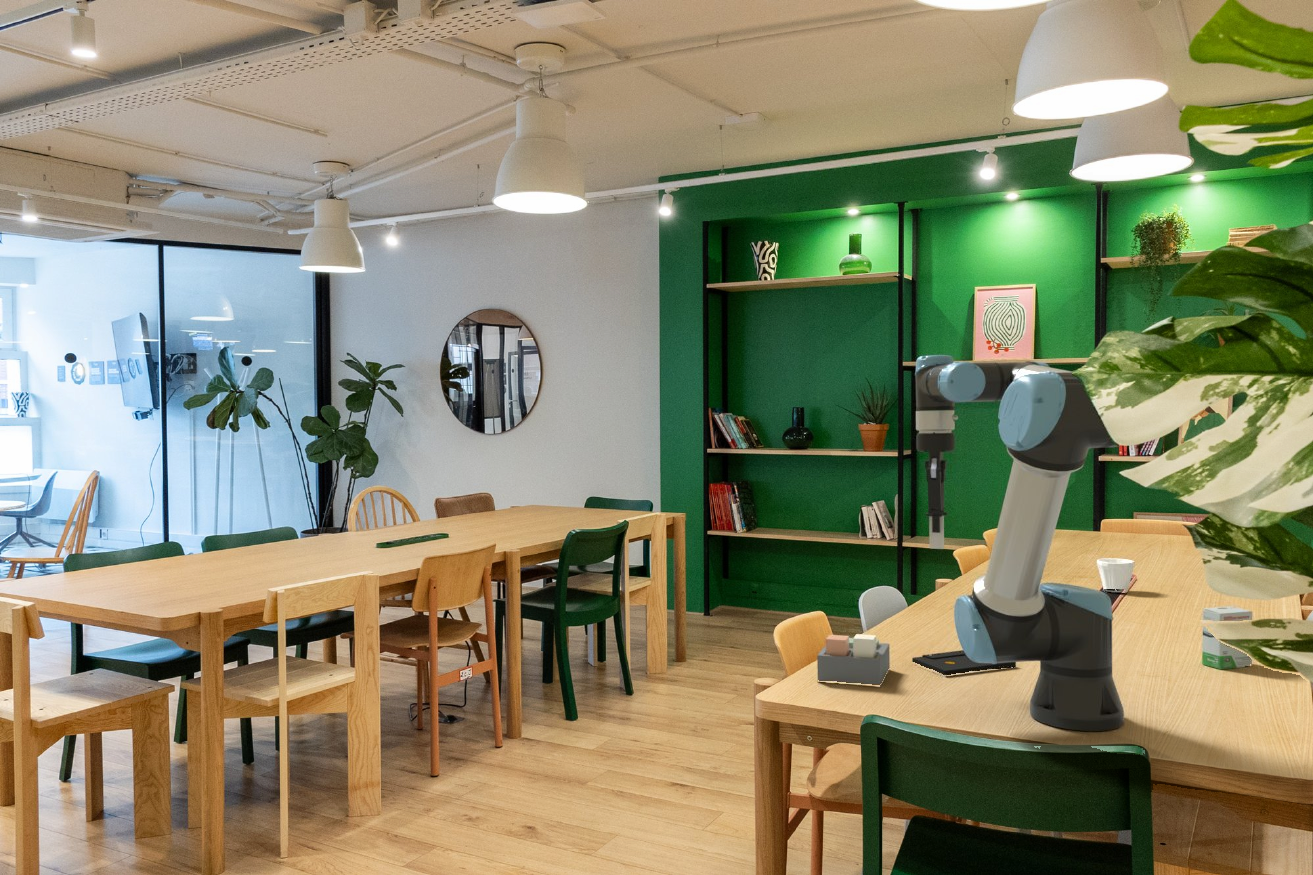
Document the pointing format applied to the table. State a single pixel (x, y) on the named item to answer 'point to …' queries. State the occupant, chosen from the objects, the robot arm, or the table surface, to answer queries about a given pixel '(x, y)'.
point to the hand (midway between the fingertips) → (936, 548)
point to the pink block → (837, 645)
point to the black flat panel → (956, 663)
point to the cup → (1115, 572)
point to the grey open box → (854, 666)
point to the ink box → (1217, 651)
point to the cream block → (864, 646)
